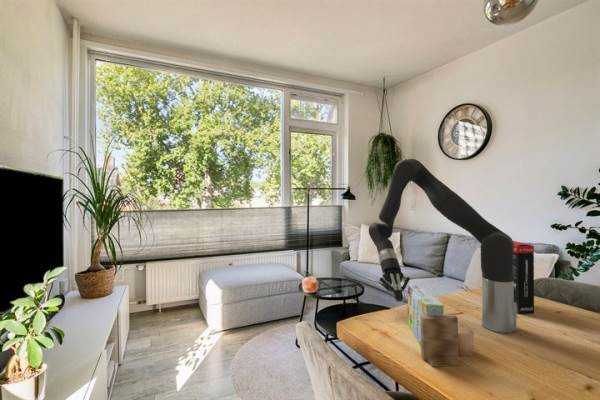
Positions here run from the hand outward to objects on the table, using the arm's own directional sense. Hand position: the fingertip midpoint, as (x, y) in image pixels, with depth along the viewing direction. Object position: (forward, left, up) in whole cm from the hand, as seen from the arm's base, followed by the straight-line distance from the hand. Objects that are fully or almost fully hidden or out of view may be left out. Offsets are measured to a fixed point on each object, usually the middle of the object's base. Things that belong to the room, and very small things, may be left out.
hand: (400, 300), depth 115 cm
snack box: (-1, +17, -6) cm, 18 cm away
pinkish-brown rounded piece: (-9, +26, -6) cm, 28 cm away
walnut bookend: (0, +31, -6) cm, 31 cm away
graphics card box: (-49, -6, -6) cm, 50 cm away
